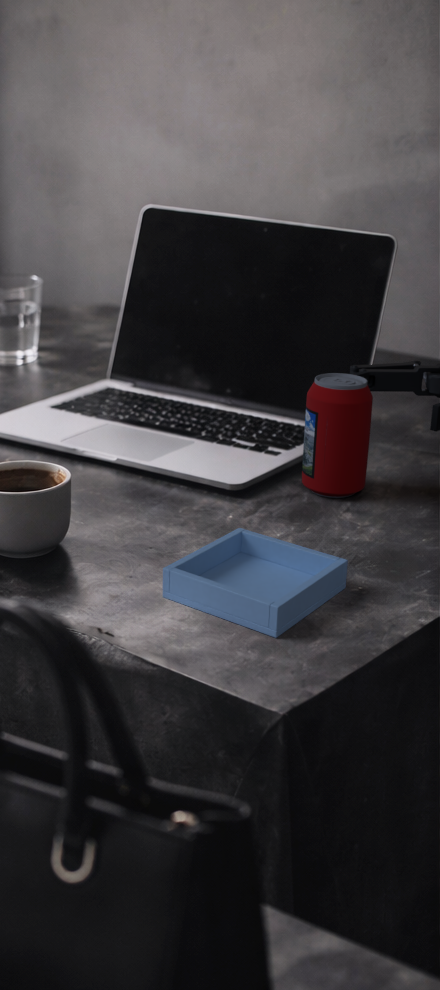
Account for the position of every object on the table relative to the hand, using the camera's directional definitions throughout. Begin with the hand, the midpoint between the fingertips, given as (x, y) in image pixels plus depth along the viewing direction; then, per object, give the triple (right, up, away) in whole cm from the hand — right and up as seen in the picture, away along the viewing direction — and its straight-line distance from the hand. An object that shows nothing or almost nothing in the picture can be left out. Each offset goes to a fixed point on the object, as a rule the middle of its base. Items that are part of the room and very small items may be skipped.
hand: (380, 404), depth 106 cm
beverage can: (-5, -9, -2) cm, 11 cm away
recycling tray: (-14, -18, -26) cm, 34 cm away
